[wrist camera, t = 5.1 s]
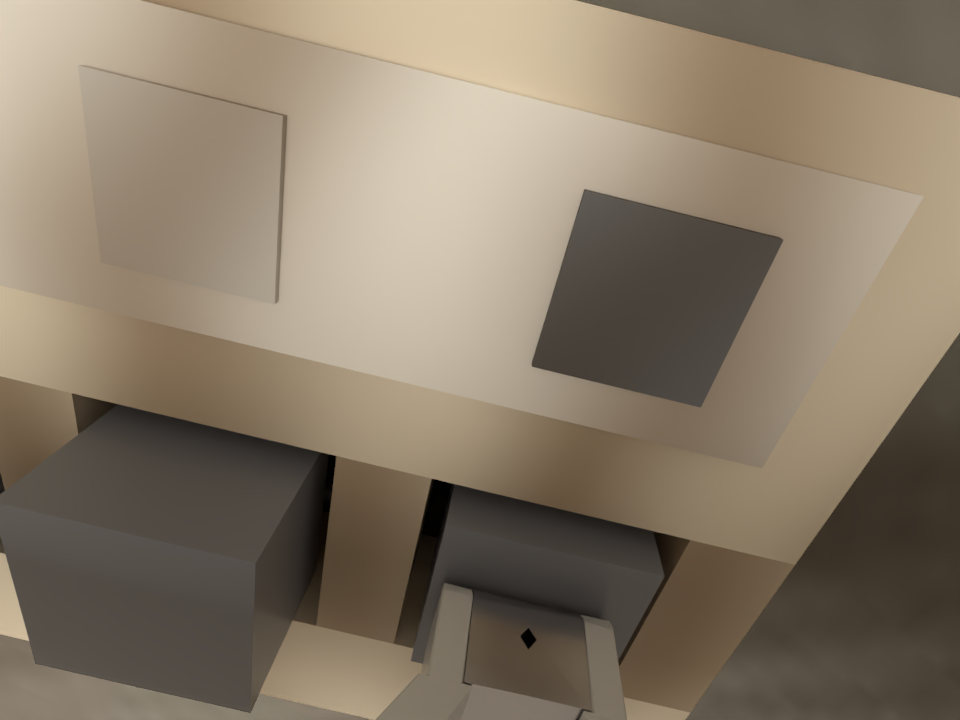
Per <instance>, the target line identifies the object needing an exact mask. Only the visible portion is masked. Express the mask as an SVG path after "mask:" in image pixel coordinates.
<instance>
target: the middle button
mask: <svg viewBox="0 0 960 720" xmlns="http://www.w3.org/2000/svg"><path fill="white" fill-rule="evenodd" d="M328 458H329V454H326V453H322V452H317V451H313V450H309V449H305V448H301V447H296V446H292V445H288V444H284V443H279V442H275V441H271V440H267V439H263V438H258V437H254V436H250V435H246V434H242V433H237V432H233V431H229V430H225V429H220V428H216V427H212V426H208V425H204V424H199V423H195V422H191V421H187V420H183V419H178V418H174V417H170V416H166V415H161V414H157V413H153V412H149V411H145V410H140V409H136V408H132V407H128V406H124V405H119V404H117V405H116V406H115V407H113V408H112V409H111V410H110V411H108V412H107V413H106V414H104V415H103V416H102V417H100V418H99V419H98V420H97V421H95V422H94V423H93V424H91V425H90V426H89V427H87V428H86V429H85V430H84V431H82V432H81V433H80V434H78V435H77V436H76V437H74V438H73V439H72V440H70V441H69V442H68V443H67V444H65V445H64V446H63V447H61V448H60V449H59V450H57V451H56V452H55V453H54V454H52V455H51V456H50V457H48V458H47V459H46V460H44V461H43V462H42V463H41V464H39V465H38V466H37V467H35V468H34V469H33V470H31V471H30V472H29V473H28V474H26V475H25V476H24V477H22V478H21V479H20V480H18V481H17V482H16V483H14V484H13V485H12V486H11V487H9V488H8V489H7V490H5V491H4V492H3V493H1V494H0V536H1V540H2V544H3V547H4V551H5V555H6V558H7V562H8V566H9V569H10V573H11V576H12V580H13V584H14V587H15V591H16V595H17V598H18V602H19V606H20V609H21V613H22V616H23V620H24V624H25V627H26V631H27V635H28V638H29V642H30V646H31V649H32V653H33V656H34V660H35V664H39V665H43V666H48V667H52V668H57V669H61V670H65V671H70V672H74V673H78V674H83V675H87V676H92V677H96V678H100V679H105V680H109V681H113V682H118V683H122V684H127V685H131V686H135V687H140V688H144V689H148V690H153V691H157V692H162V693H166V694H170V695H175V696H179V697H183V698H188V699H192V700H197V701H201V702H205V703H210V704H214V705H218V706H223V707H227V708H232V709H236V710H240V711H245V712H249V713H251V711H252V708H253V706H254V704H255V702H256V700H257V697H258V695H259V693H260V691H261V689H262V686H263V684H264V682H265V680H266V678H267V675H268V673H269V671H270V669H271V667H272V664H273V662H274V660H275V658H276V656H277V653H278V651H279V649H280V647H281V645H282V642H283V640H284V638H285V636H286V634H287V632H288V629H289V627H290V625H291V623H292V621H293V618H294V616H295V614H296V612H297V610H298V607H299V605H300V603H301V601H302V599H303V596H304V594H305V592H306V590H307V588H308V585H309V583H310V581H311V579H312V577H313V574H314V572H315V570H316V566H317V557H318V548H319V539H320V530H321V521H322V512H323V503H324V494H325V485H326V476H327V467H328Z"/></svg>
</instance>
